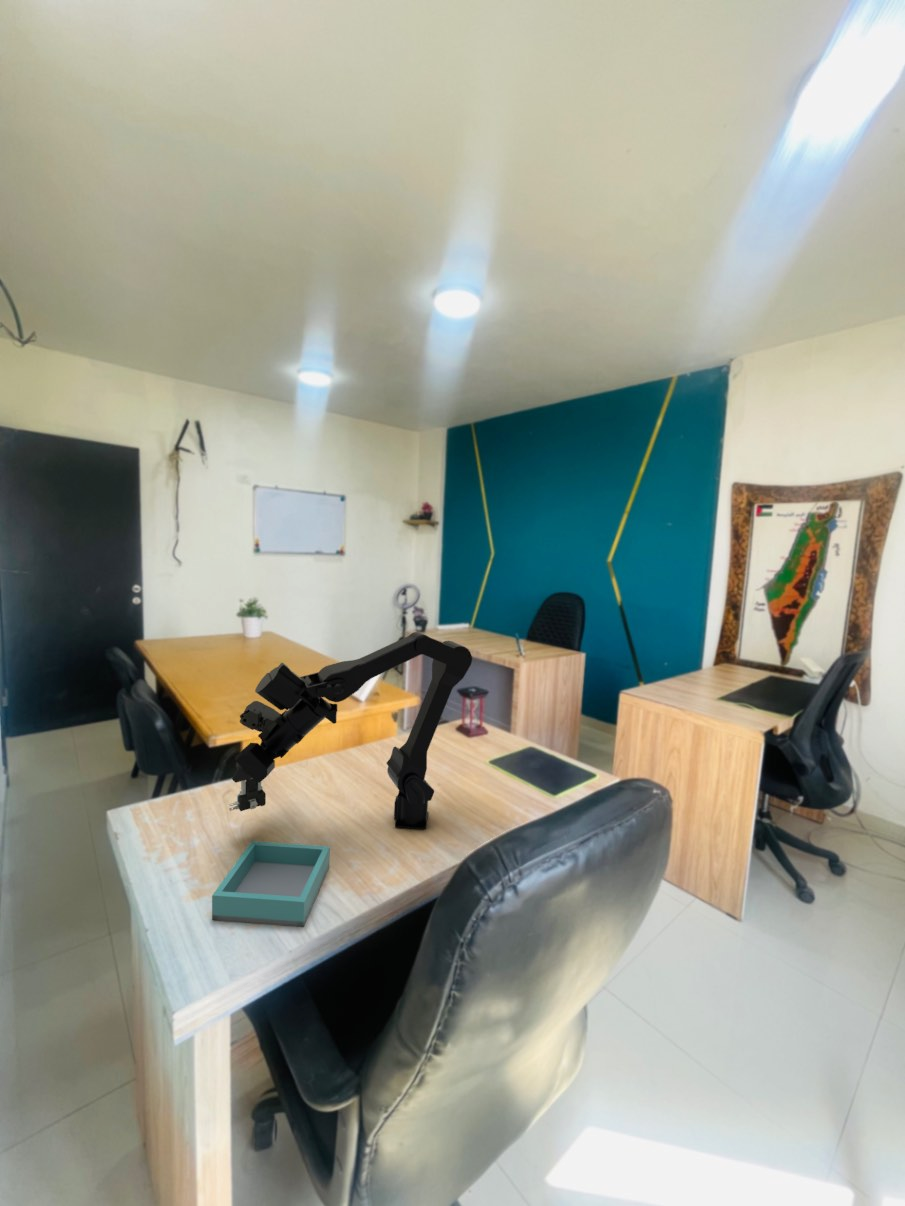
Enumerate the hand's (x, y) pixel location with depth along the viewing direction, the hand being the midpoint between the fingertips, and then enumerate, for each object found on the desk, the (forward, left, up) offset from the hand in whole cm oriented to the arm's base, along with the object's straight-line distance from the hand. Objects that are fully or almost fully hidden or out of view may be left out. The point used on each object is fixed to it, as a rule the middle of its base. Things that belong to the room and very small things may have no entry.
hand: (240, 773), depth 95 cm
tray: (-12, +14, -13) cm, 23 cm away
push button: (-1, 0, -7) cm, 7 cm away
